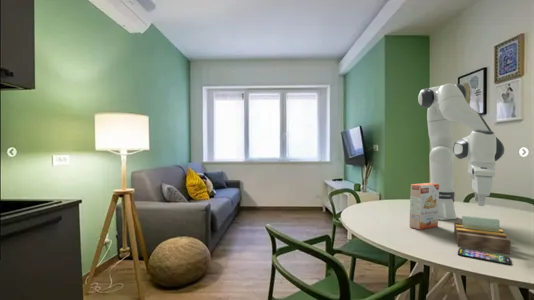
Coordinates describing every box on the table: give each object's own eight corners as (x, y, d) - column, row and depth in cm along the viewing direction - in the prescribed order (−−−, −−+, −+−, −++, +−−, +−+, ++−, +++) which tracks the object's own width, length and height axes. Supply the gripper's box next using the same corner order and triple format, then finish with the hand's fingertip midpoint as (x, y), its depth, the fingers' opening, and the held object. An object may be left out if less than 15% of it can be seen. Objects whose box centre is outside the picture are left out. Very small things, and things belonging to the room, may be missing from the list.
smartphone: (511, 264, 96) (457, 253, 105) (511, 267, 96) (457, 256, 105) (509, 256, 102) (458, 247, 111) (509, 259, 102) (458, 250, 111)
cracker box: (420, 230, 135) (421, 185, 134) (408, 227, 140) (409, 184, 140) (439, 226, 141) (439, 183, 141) (427, 223, 147) (427, 182, 146)
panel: (462, 238, 121) (462, 216, 121) (462, 237, 123) (462, 215, 122) (499, 243, 115) (499, 220, 115) (498, 241, 117) (498, 219, 116)
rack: (457, 246, 114) (458, 233, 114) (454, 232, 131) (454, 221, 131) (510, 254, 106) (510, 239, 106) (498, 238, 124) (499, 226, 123)
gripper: (468, 167, 129) (467, 198, 129) (475, 171, 111) (473, 207, 111) (486, 168, 126) (484, 200, 126) (495, 172, 108) (493, 209, 108)
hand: (479, 203), depth 119 cm, fingers open, 8 cm apart
